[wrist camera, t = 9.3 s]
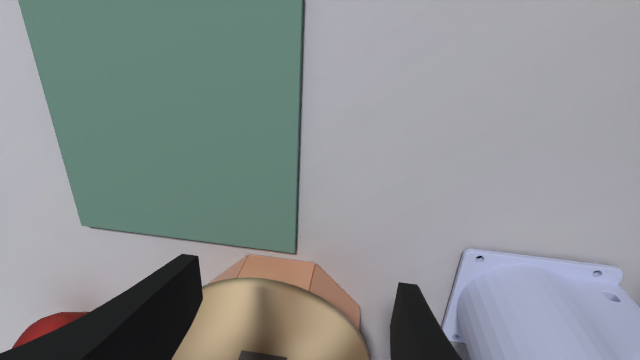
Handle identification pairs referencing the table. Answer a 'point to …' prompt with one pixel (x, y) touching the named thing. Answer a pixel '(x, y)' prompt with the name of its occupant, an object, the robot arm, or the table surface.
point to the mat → (176, 113)
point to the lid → (268, 325)
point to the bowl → (296, 280)
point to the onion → (47, 326)
